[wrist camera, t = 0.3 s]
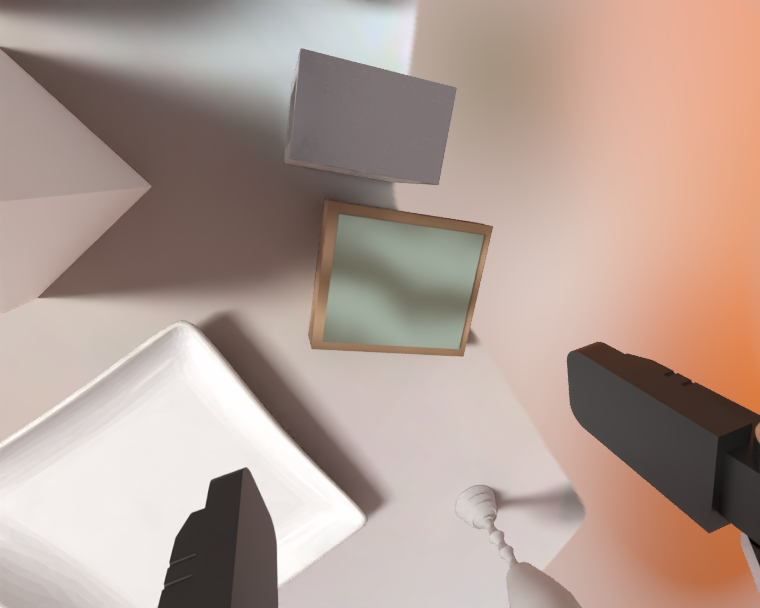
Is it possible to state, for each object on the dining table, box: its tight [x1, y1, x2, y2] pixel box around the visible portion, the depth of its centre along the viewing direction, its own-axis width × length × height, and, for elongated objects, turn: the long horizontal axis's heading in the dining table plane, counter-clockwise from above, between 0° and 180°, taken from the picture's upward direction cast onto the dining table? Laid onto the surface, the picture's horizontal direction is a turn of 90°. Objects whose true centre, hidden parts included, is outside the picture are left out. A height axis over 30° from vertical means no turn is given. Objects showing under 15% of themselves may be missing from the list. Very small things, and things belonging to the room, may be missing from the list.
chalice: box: [455, 485, 581, 608], centre depth 40 cm, size 7×7×18 cm
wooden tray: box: [308, 199, 493, 356], centre depth 36 cm, size 12×14×3 cm
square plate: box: [0, 320, 368, 608], centre depth 37 cm, size 27×27×4 cm
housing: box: [284, 48, 456, 185], centre depth 28 cm, size 6×9×10 cm, turn 81°
